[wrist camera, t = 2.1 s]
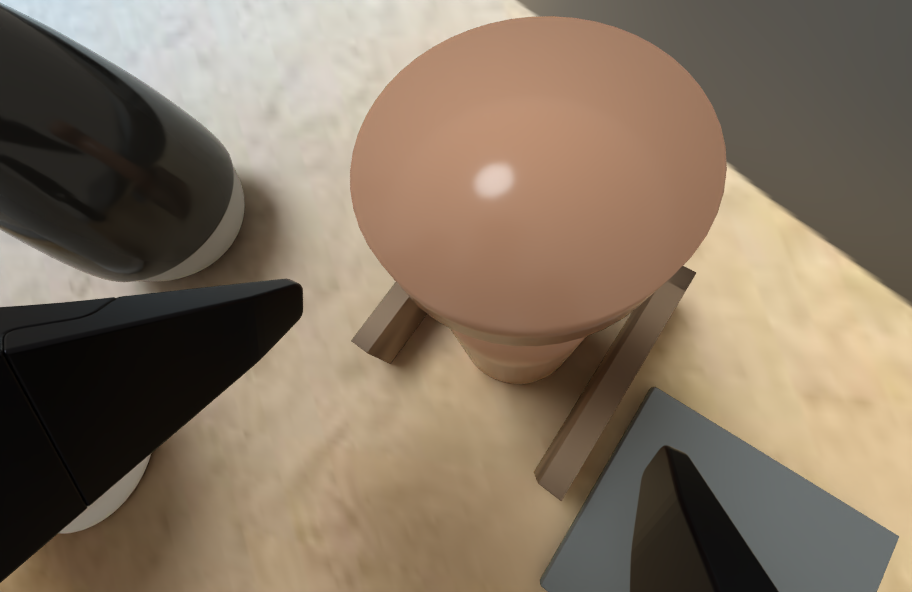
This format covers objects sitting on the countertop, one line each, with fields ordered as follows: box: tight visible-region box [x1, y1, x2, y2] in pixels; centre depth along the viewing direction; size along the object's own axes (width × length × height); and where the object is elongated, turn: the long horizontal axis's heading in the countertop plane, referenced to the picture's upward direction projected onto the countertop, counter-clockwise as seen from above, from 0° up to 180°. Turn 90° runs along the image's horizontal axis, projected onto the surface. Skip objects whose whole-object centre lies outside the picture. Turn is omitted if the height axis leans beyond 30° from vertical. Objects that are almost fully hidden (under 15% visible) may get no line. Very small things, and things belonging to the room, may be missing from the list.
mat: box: [540, 387, 899, 592], centre depth 16 cm, size 10×10×1 cm
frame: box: [351, 266, 696, 501], centre depth 19 cm, size 11×11×4 cm
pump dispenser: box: [0, 3, 245, 282], centre depth 18 cm, size 10×10×15 cm
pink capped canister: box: [350, 16, 727, 384], centre depth 14 cm, size 7×7×14 cm
